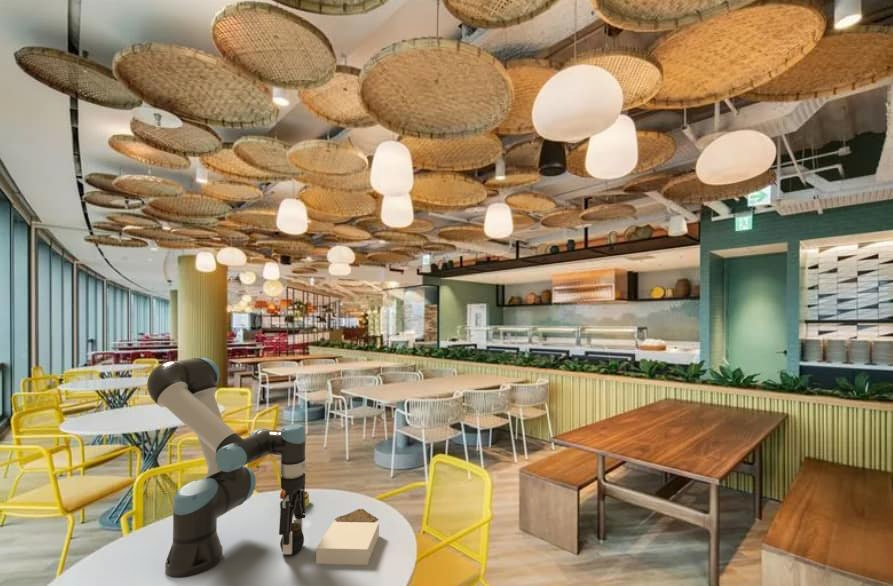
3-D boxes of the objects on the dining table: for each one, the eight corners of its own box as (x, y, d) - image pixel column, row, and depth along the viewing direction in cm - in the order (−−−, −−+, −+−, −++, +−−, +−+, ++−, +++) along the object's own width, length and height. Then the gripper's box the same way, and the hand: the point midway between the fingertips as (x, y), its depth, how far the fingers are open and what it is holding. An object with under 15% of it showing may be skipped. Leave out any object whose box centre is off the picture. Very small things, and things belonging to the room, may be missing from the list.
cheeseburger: (301, 512, 158) (296, 486, 159) (277, 517, 160) (272, 491, 161) (315, 500, 168) (309, 476, 169) (292, 505, 170) (287, 480, 171)
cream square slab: (316, 565, 126) (316, 548, 126) (333, 536, 142) (333, 521, 142) (367, 566, 125) (367, 549, 125) (379, 537, 141) (378, 522, 141)
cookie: (333, 520, 153) (333, 517, 153) (362, 509, 161) (362, 507, 161) (349, 532, 144) (349, 530, 144) (379, 520, 152) (379, 518, 152)
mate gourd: (298, 542, 138) (298, 512, 138) (308, 552, 132) (308, 520, 133) (277, 551, 133) (277, 519, 133) (286, 561, 127) (286, 528, 128)
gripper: (291, 487, 123) (290, 565, 122) (315, 462, 143) (315, 530, 142) (266, 487, 124) (266, 565, 123) (295, 462, 144) (294, 529, 143)
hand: (292, 546), depth 133 cm, fingers closed on mate gourd, 7 cm apart
